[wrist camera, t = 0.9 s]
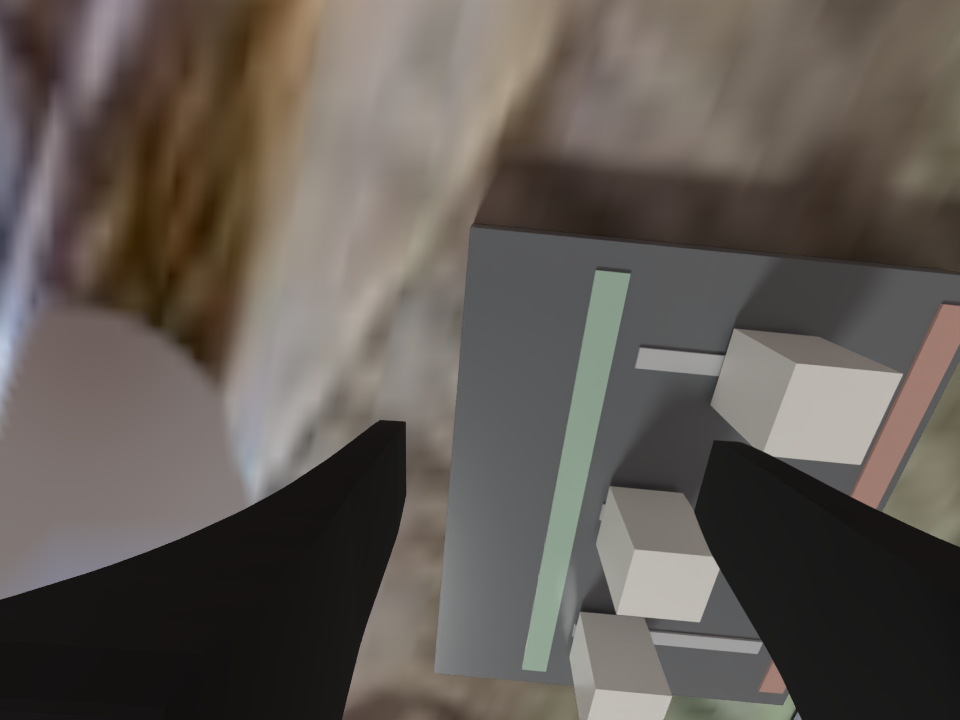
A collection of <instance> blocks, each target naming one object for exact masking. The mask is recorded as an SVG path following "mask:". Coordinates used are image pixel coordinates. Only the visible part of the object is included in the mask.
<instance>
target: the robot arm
mask: <svg viewBox="0 0 960 720" xmlns="http://www.w3.org/2000/svg"><path fill="white" fill-rule="evenodd" d="M405 498H406V422H403V421H386V420H379V421H378V422H376V423H375V424H374V425H372V426H371V427H370V428H368V429H367V430H366V431H364V432H363V433H362V434H360V435H359V436H358V437H357V438H355V439H354V440H353V441H351V442H350V443H349V444H347V445H346V446H345V447H343V448H342V449H341V450H339V451H338V452H337V453H335V454H334V455H332V456H331V457H330V458H328V459H327V460H326V461H324V462H323V463H321V464H319V465H318V466H316V467H315V468H313V469H312V470H310V471H309V472H307V473H306V474H304V475H303V476H301V477H300V478H298V479H297V480H295V481H294V482H292V483H291V484H289V485H287V486H286V487H284V488H282V489H281V490H279V491H277V492H275V493H274V494H272V495H270V496H268V497H267V498H265V499H263V500H261V501H259V502H257V503H255V504H254V505H252V506H250V507H248V508H246V509H244V510H242V511H240V512H238V513H236V514H234V515H232V516H230V517H227V518H225V519H223V520H221V521H219V522H216V523H214V524H212V525H210V526H208V527H205V528H203V529H201V530H199V531H197V532H195V533H192V534H190V535H188V536H186V537H183V538H181V539H179V540H176V541H174V542H171V543H168V544H166V545H164V546H161V547H158V548H156V549H153V550H151V551H148V552H146V553H143V554H140V555H138V556H135V557H132V558H129V559H127V560H124V561H121V562H118V563H116V564H113V565H110V566H107V567H104V568H101V569H98V570H95V571H92V572H89V573H86V574H83V575H80V576H76V577H73V578H70V579H67V580H63V581H60V582H57V583H54V584H51V585H47V586H44V587H41V588H38V589H34V590H32V591H28V592H25V593H22V594H18V595H15V596H12V597H8V598H5V599H1V600H0V720H342V717H343V713H344V709H345V704H346V700H347V696H348V692H349V688H350V684H351V680H352V676H353V672H354V668H355V664H356V659H357V655H358V651H359V647H360V644H361V641H362V638H363V634H364V631H365V628H366V624H367V622H368V619H369V616H370V613H371V610H372V607H373V604H374V601H375V598H376V596H377V593H378V590H379V587H380V584H381V581H382V578H383V575H384V573H385V570H386V567H387V564H388V561H389V558H390V555H391V552H392V549H393V546H394V543H395V540H396V537H397V534H398V531H399V526H400V522H401V517H402V512H403V507H404V503H405ZM694 513H695V516H696V519H697V521H698V524H699V526H700V529H701V532H702V534H703V536H704V539H705V541H706V543H707V546H708V548H709V550H710V552H711V554H712V556H713V558H714V560H715V561H716V563H717V565H718V567H719V568H720V570H721V572H722V574H723V575H724V577H725V579H726V581H727V582H728V584H729V586H730V588H731V589H732V591H733V593H734V594H735V596H736V598H737V600H738V601H739V603H740V605H741V606H742V608H743V610H744V612H745V613H746V615H747V617H748V618H749V620H750V622H751V623H752V625H753V627H754V629H755V630H756V632H757V634H758V635H759V637H760V639H761V641H762V642H763V644H764V646H765V647H766V649H767V651H768V653H769V655H770V656H771V658H772V660H773V662H774V664H775V666H776V668H777V669H778V671H779V673H780V675H781V677H782V679H783V681H784V683H785V686H786V688H787V690H788V692H789V694H790V696H791V698H792V700H793V703H794V705H795V707H796V709H797V711H798V712H797V714H796V716H795V718H794V720H960V547H958V546H956V545H953V544H951V543H948V542H946V541H944V540H941V539H939V538H937V537H934V536H932V535H930V534H928V533H925V532H923V531H921V530H919V529H917V528H914V527H912V526H910V525H908V524H906V523H904V522H902V521H899V520H897V519H895V518H893V517H891V516H889V515H887V514H885V513H883V512H881V511H879V510H877V509H874V508H872V507H870V506H868V505H866V504H864V503H862V502H860V501H858V500H856V499H854V498H852V497H850V496H848V495H846V494H845V493H843V492H841V491H839V490H837V489H835V488H833V487H831V486H829V485H827V484H825V483H823V482H821V481H819V480H818V479H816V478H814V477H812V476H810V475H808V474H806V473H804V472H802V471H800V470H798V469H797V468H795V467H793V466H791V465H789V464H787V463H785V462H783V461H781V460H779V459H777V458H775V457H773V456H771V455H769V454H767V453H765V452H763V451H761V450H759V449H757V448H754V447H752V446H750V445H747V444H745V443H742V442H736V441H719V440H714V441H713V445H712V448H711V452H710V455H709V459H708V463H707V466H706V470H705V473H704V477H703V481H702V484H701V488H700V492H699V495H698V499H697V502H696V506H695V510H694Z"/></svg>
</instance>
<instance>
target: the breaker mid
mask: <svg viewBox="0 0 960 720" xmlns="http://www.w3.org/2000/svg"><path fill="white" fill-rule="evenodd" d="M596 546H597V549H598V553H599V556H600V560H601V563H602V566H603V570H604V573H605V577H606V580H607V584H608V587H609V590H610V594H611V597H612V601H613V604H614V608H615V611H616V614H617V615H626V616H637V617H647V618H658V619H669V620H679V621H690V622H700V620H701V618H702V615H703V612H704V610H705V607H706V604H707V602H708V599H709V596H710V594H711V591H712V588H713V586H714V583H715V580H716V578H717V575H718V572H719V570H720V568H719V567H718V565H717V563H716V561H715V560H714V558H713V556H712V554H711V552H710V550H709V548H708V546H707V543H706V541H705V539H704V536H703V534H702V532H701V529H700V526H699V524H698V521H697V519H696V516H695V513H694V510H693V508H692V507H691V505H690V503H689V502H688V500H687V499H686V497H685V496H684V494H683V493H676V492H666V491H655V490H645V489H634V488H624V487H613V486H610V487H609V491H608V495H607V499H606V504H605V508H604V512H603V516H602V521H601V525H600V529H599V533H598V537H597V542H596Z"/></svg>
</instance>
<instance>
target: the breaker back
mask: <svg viewBox="0 0 960 720" xmlns="http://www.w3.org/2000/svg"><path fill="white" fill-rule="evenodd" d="M569 658H570V664H571V670H572V676H573V682H574V689H575V695H576V701H577V707H578V713H579V719H580V720H664V717H665V714H666V712H667V709H668V706H669V704H670V701H671V698H672V694H671V691H670V688H669V686H668V683H667V680H666V677H665V674H664V672H663V669H662V666H661V663H660V660H659V657H658V655H657V652H656V649H655V646H654V643H653V641H652V638H651V635H650V632H649V629H648V627H647V624H646V621H645V618H641V617H631V616H620V615H609V614H599V613H588V612H580V614H579V618H578V622H577V626H576V630H575V635H574V639H573V643H572V647H571V652H570V656H569Z"/></svg>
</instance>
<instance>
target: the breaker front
mask: <svg viewBox="0 0 960 720" xmlns="http://www.w3.org/2000/svg"><path fill="white" fill-rule="evenodd" d="M902 375H903V373H900V372H898V371H896V370H894V369H891V368H889V367H887V366H884V365H882V364H880V363H878V362H875V361H873V360H871V359H869V358H866V357H864V356H862V355H859V354H857V353H855V352H853V351H850V350H848V349H846V348H843V347H841V346H839V345H837V344H834V343H832V342H830V341H828V340H825V339H823V338H821V337H817V336H806V335H796V334H786V333H776V332H765V331H755V330H745V329H735V328H734V330H733V333H732V337H731V340H730V343H729V346H728V349H727V353H726V356H725V359H724V362H723V366H722V369H721V372H720V375H719V378H718V382H717V385H716V388H715V391H714V395H713V398H712V401H711V404H710V405H711V406H712V407H713V408H714V409H715V410H716V411H717V412H718V413H719V414H720V415H721V416H722V417H723V418H724V419H725V420H726V421H727V422H728V423H729V424H730V425H731V426H732V427H733V428H734V429H735V430H736V431H737V432H738V433H739V434H740V435H741V436H742V437H743V438H745V439H746V440H747V441H748V442H749V443H750V444H751V445H752V446H753V447H754V448H757V449H759V450H761V451H763V452H765V453H767V454H769V455H771V456H773V457H782V458H792V459H803V460H813V461H824V462H834V463H845V464H855V465H861V463H862V461H863V458H864V456H865V454H866V452H867V450H868V448H869V446H870V444H871V441H872V439H873V437H874V435H875V433H876V431H877V429H878V427H879V424H880V422H881V420H882V418H883V416H884V414H885V412H886V410H887V407H888V405H889V403H890V401H891V399H892V397H893V395H894V392H895V390H896V388H897V386H898V384H899V382H900V380H901V378H902Z"/></svg>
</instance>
